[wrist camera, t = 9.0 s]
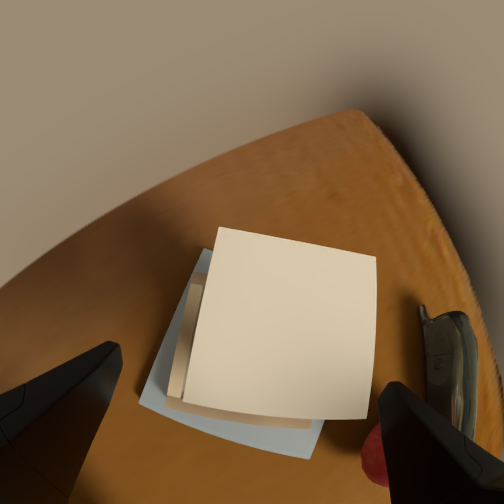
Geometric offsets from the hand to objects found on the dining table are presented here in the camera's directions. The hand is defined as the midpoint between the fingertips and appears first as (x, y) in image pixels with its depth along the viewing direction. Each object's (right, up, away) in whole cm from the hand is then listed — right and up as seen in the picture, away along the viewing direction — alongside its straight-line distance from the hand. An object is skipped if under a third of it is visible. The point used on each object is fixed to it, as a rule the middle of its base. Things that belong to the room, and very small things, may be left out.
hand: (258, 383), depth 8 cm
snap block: (-1, -3, +9) cm, 10 cm away
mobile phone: (+16, -8, +10) cm, 20 cm away
